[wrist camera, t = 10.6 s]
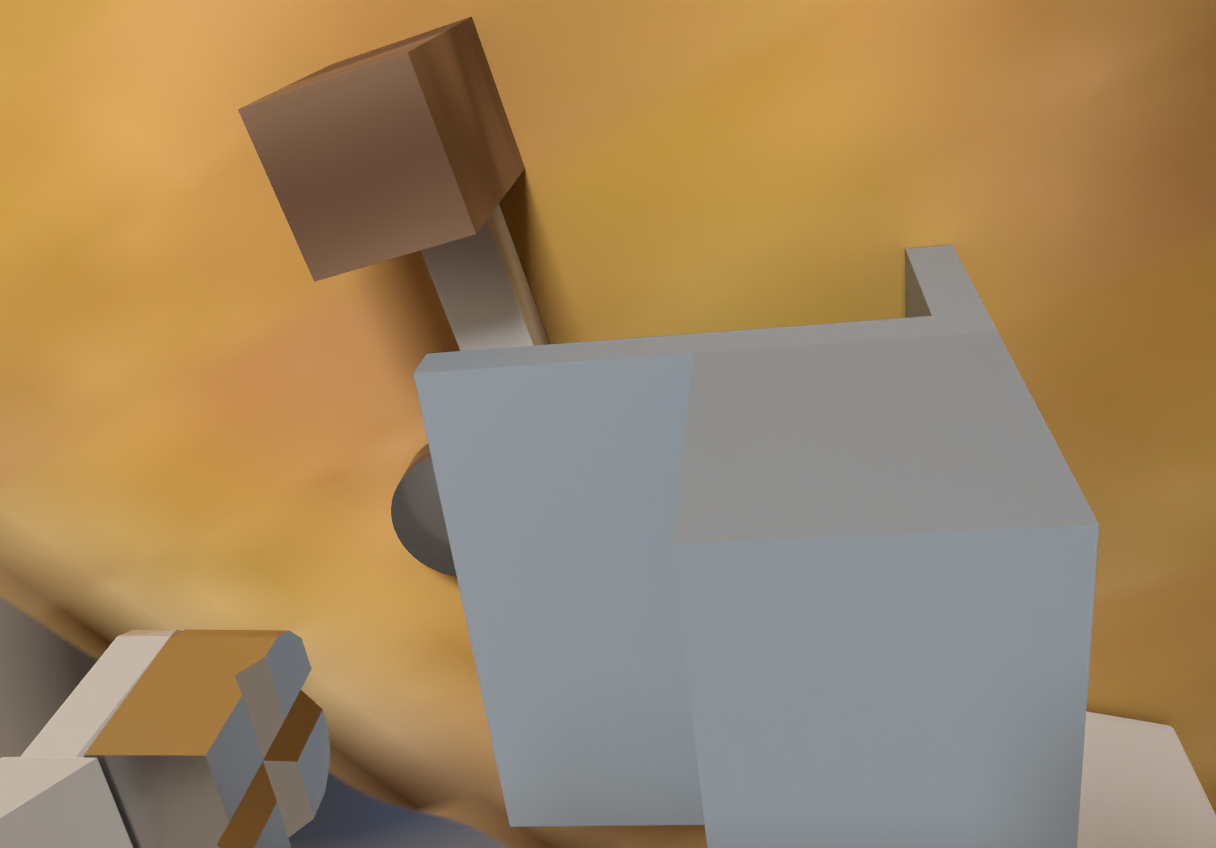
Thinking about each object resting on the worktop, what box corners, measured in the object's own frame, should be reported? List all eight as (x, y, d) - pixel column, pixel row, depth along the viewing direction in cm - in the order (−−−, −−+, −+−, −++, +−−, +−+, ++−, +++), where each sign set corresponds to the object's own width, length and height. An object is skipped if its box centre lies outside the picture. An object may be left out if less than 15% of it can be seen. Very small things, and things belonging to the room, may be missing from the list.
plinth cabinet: (471, 285, 32) (288, 562, 19) (952, 244, 30) (1098, 525, 17) (545, 686, 38) (441, 1098, 25) (950, 674, 36) (1058, 1116, 23)
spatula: (330, 64, 30) (238, 109, 24) (471, 16, 29) (407, 52, 24) (545, 594, 36) (509, 721, 31) (665, 569, 35) (650, 696, 30)
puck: (390, 443, 35) (372, 472, 33) (514, 420, 34) (502, 447, 32) (431, 553, 36) (416, 585, 35) (550, 533, 36) (541, 565, 34)
